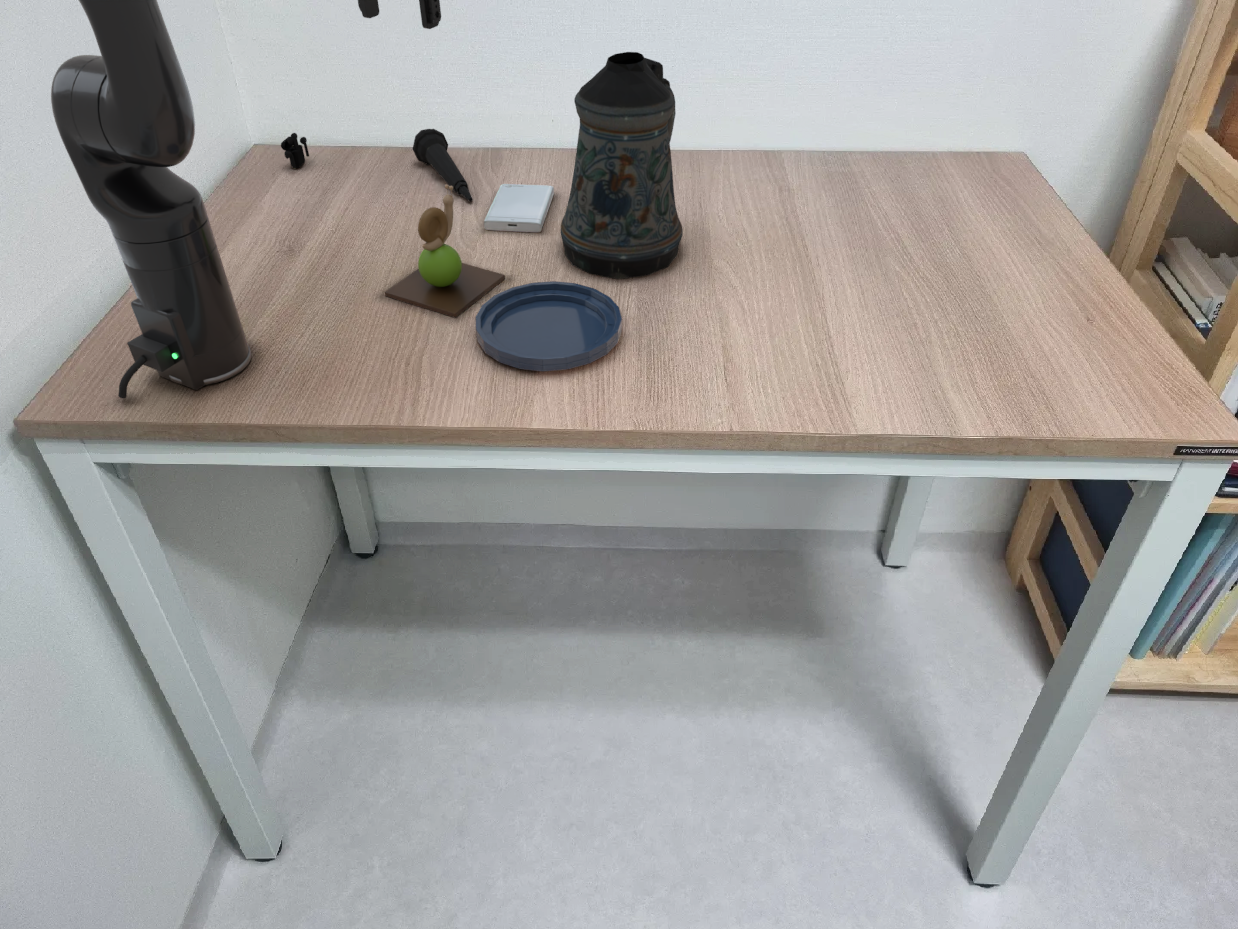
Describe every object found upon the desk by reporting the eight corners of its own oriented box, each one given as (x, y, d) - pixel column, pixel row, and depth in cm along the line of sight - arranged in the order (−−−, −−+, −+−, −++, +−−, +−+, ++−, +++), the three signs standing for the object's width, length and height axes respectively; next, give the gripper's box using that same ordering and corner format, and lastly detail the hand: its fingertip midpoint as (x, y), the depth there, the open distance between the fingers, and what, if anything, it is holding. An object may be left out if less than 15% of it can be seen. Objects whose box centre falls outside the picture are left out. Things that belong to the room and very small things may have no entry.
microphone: (482, 218, 140) (436, 157, 152) (491, 183, 137) (443, 123, 148) (449, 215, 137) (404, 153, 148) (458, 180, 133) (411, 119, 145)
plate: (575, 390, 101) (574, 374, 100) (448, 349, 107) (446, 333, 106) (645, 318, 113) (646, 302, 111) (527, 284, 119) (526, 269, 117)
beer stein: (556, 278, 120) (547, 82, 104) (567, 213, 135) (560, 31, 118) (682, 281, 120) (693, 83, 103) (679, 215, 134) (688, 33, 118)
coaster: (455, 317, 113) (455, 313, 112) (385, 296, 117) (384, 291, 116) (505, 278, 120) (505, 274, 120) (437, 259, 124) (436, 255, 124)
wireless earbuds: (293, 175, 145) (286, 143, 142) (279, 173, 145) (271, 142, 142) (312, 157, 150) (306, 127, 147) (298, 156, 150) (291, 125, 147)
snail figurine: (477, 277, 119) (467, 189, 111) (445, 298, 115) (432, 208, 107) (445, 266, 121) (433, 179, 113) (412, 287, 117) (397, 198, 109)
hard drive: (500, 183, 139) (483, 219, 129) (553, 185, 138) (540, 221, 129) (501, 193, 140) (484, 230, 130) (554, 195, 139) (541, 232, 130)
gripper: (298, -150, 93) (330, 21, 104) (409, -139, 88) (431, 39, 99) (347, -158, 98) (373, 5, 109) (455, -149, 93) (471, 22, 104)
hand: (401, 21), depth 104 cm, fingers open, 8 cm apart
